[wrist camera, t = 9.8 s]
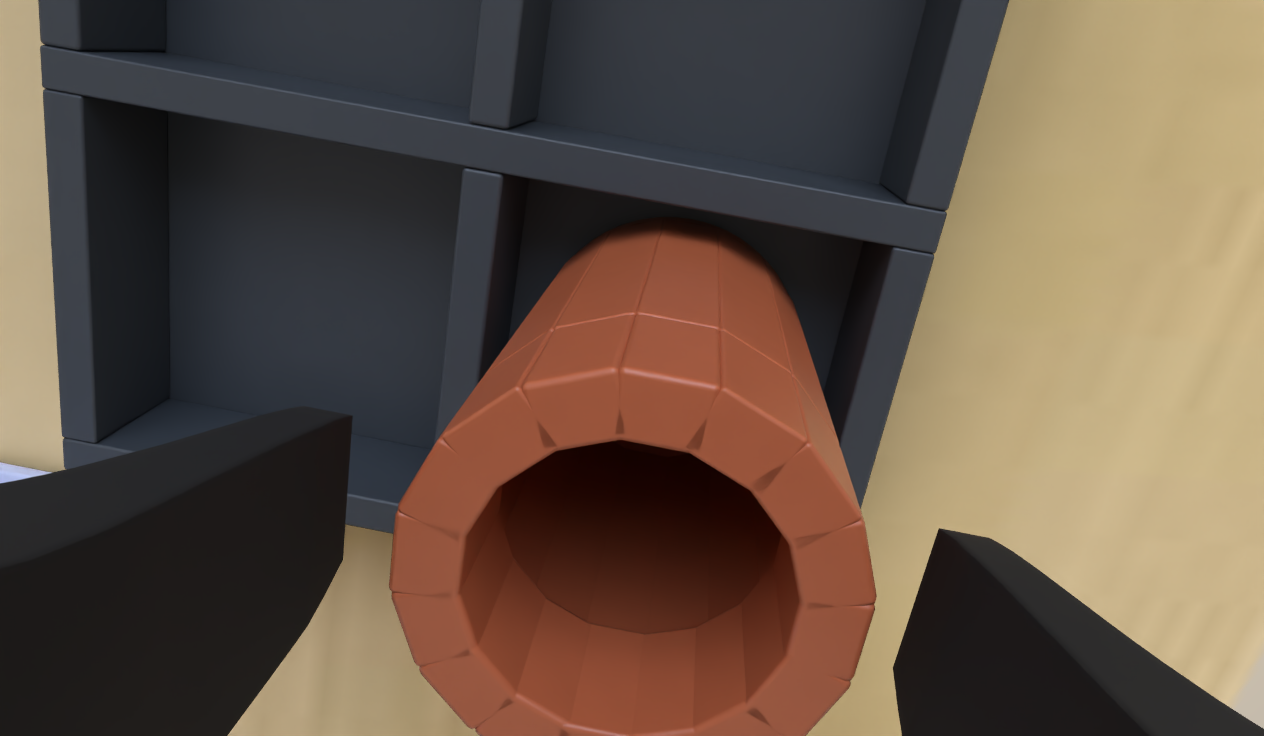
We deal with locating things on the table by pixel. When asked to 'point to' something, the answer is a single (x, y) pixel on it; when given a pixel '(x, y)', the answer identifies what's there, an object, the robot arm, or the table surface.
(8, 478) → the robot arm
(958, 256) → the table surface
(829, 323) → the tray
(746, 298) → the jar
